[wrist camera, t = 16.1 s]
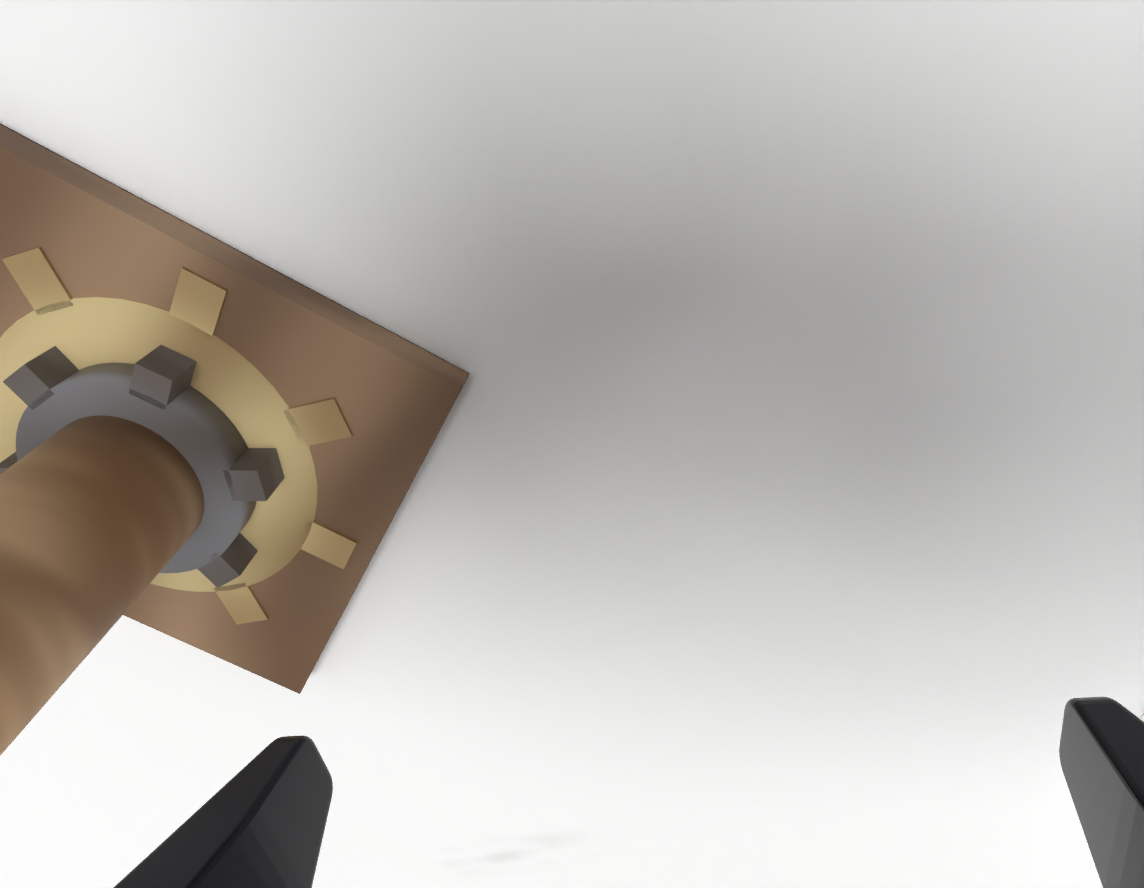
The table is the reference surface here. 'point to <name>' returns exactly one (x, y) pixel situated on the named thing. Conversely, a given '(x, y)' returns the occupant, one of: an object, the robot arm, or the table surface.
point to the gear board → (225, 394)
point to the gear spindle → (110, 508)
